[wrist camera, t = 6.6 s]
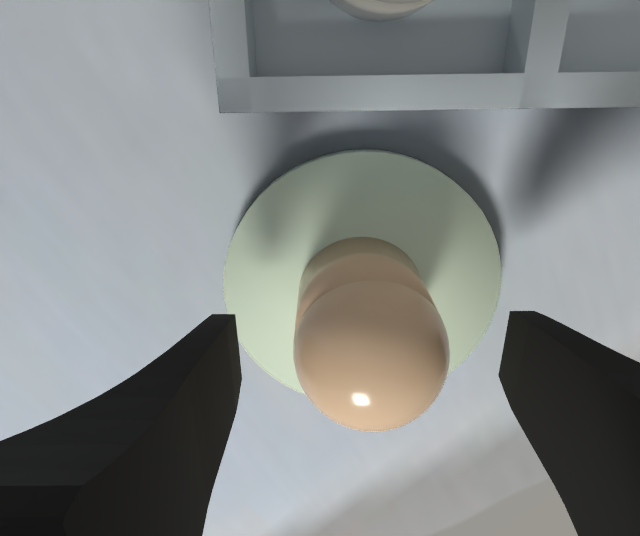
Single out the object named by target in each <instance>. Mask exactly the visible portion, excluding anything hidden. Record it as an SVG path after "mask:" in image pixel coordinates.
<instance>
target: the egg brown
mask: <svg viewBox="0 0 640 536" xmlns="http://www.w3.org/2000/svg"><path fill="white" fill-rule="evenodd" d="M293 359H294V366H295V370H296V374H297V378H298V380H299V382H300V385H301V387H302V389H303V391H304V392H305V394H306V396H307V397H308V399H309V400H310V401H311V402H312V403H313V405H314V406H315V407H316V408H317V409H318V410H319V411H320V412H321V413H322V414H324V415H325V416H327V417H328V418H329V419H331V420H332V421H334V422H336V423H338V424H340V425H342V426H345V427H347V428H351V429H354V430H359V431H365V432H381V431H388V430H392V429H396V428H399V427H401V426H404V425H406V424H408V423H410V422H411V421H413V420H415V419H416V418H418V417H419V416H420V415H422V414H423V413H424V412H425V411H426V410H427V409H428V408H429V407H430V406H431V405H432V403H433V402H434V401H435V399H436V398H437V397H438V395H439V393H440V392H441V390H442V388H443V385H444V383H445V380H446V377H447V374H448V369H449V362H450V347H449V339H448V335H447V331H446V328H445V325H444V323H443V320H442V318H441V316H440V314H439V312H438V310H437V308H436V306H435V304H434V302H433V300H432V298H431V296H430V294H429V292H428V290H427V288H426V286H425V284H424V282H423V280H422V278H421V276H420V274H419V272H418V270H417V268H416V266H415V265H414V263H413V262H412V260H411V259H410V258H409V257H408V255H407V254H406V253H404V252H403V251H402V250H401V249H400V248H398V247H397V246H395V245H393V244H391V243H389V242H387V241H384V240H381V239H377V238H372V237H352V238H346V239H343V240H340V241H337V242H335V243H332V244H330V245H329V246H327V247H325V248H324V249H322V250H321V251H320V252H318V253H317V254H316V255H315V256H314V257H313V258H312V259H311V261H310V262H309V263H308V265H307V266H306V268H305V270H304V272H303V274H302V277H301V280H300V284H299V291H298V301H297V311H296V321H295V331H294V341H293Z"/></svg>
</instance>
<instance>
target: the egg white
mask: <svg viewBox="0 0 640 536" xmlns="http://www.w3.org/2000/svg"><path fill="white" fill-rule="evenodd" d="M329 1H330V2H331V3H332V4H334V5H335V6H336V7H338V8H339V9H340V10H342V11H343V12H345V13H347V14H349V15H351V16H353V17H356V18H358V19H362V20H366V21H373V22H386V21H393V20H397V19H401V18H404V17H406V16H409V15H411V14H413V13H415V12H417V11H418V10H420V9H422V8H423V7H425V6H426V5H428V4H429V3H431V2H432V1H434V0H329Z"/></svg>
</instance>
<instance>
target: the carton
mask: <svg viewBox="0 0 640 536" xmlns="http://www.w3.org/2000/svg"><path fill="white" fill-rule="evenodd" d="M209 10H210V20H211V30H212V40H213V51H214V61H215V71H216V81H217V92H218V102H219V112H220V113H251V112H323V111H395V110H467V109H539V108H611V107H640V0H434V1H432V2H431V3H429V4H428V5H426V6H425V7H423V8H422V9H420V10H418V11H417V12H415V13H413V14H411V15H409V16H406V17H404V18H401V19H397V20H393V21H386V22H373V21H366V20H362V19H358V18H356V17H353V16H351V15H349V14H347V13H345V12H343V11H342V10H340V9H339V8H338V7H336V6H335V5H334V4H332V3H331V2H330V1H329V0H209Z"/></svg>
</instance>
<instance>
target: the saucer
mask: <svg viewBox="0 0 640 536" xmlns="http://www.w3.org/2000/svg"><path fill="white" fill-rule="evenodd" d="M352 237H372V238H377V239H381V240H384V241H387V242H389V243H391V244H393V245H395V246H397V247H398V248H400V249H401V250H402V251H403V252H404V253H406V254H407V255H408V257H409V258H410V259H411V260H412V262H413V263H414V265H415V266H416V268H417V270H418V272H419V274H420V276H421V278H422V280H423V282H424V284H425V286H426V288H427V290H428V292H429V294H430V296H431V298H432V300H433V302H434V304H435V306H436V308H437V310H438V312H439V314H440V316H441V318H442V320H443V323H444V325H445V328H446V331H447V335H448V339H449V347H450V362H449V369H448V374H449V373H451V372H452V371H453V370H454V369H455V368H456V367H458V366H459V365H460V364H461V363H462V362H463V361H464V360H465V359H466V358H467V357H468V356H469V355H470V354H471V353H472V351H473V350H474V349H475V347H476V346H477V345H478V343H479V342H480V341H481V339H482V338H483V336H484V334H485V332H486V331H487V329H488V327H489V325H490V323H491V321H492V318H493V315H494V313H495V310H496V307H497V303H498V299H499V295H500V287H501V259H500V255H499V250H498V245H497V241H496V239H495V236H494V233H493V231H492V228H491V226H490V224H489V222H488V221H487V219H486V217H485V215H484V213H483V212H482V210H481V209H480V208H479V207H478V205H477V204H476V203H475V201H474V200H473V199H472V198H471V197H470V196H469V195H468V194H467V193H466V192H465V191H464V190H463V189H462V188H461V187H460V186H459V185H458V184H457V183H455V182H454V181H453V180H452V179H450V178H449V177H447V176H446V175H445V174H443V173H442V172H440V171H439V170H437V169H436V168H434V167H432V166H430V165H428V164H426V163H424V162H422V161H420V160H418V159H415V158H412V157H409V156H406V155H403V154H400V153H394V152H389V151H384V150H369V149H359V150H346V151H340V152H335V153H331V154H326V155H323V156H320V157H317V158H314V159H311V160H309V161H306V162H304V163H302V164H300V165H298V166H296V167H294V168H293V169H291V170H289V171H287V172H286V173H285V174H283V175H282V176H280V177H279V178H277V179H276V180H275V181H273V182H272V183H271V184H270V185H269V186H268V187H267V188H266V189H265V190H264V191H263V192H262V193H261V194H260V195H259V196H258V197H257V198H256V200H255V201H254V202H253V203H252V205H251V206H250V207H249V209H248V210H247V212H246V214H245V215H244V217H243V219H242V220H241V222H240V224H239V226H238V227H237V229H236V231H235V234H234V236H233V239H232V241H231V243H230V246H229V249H228V253H227V257H226V261H225V267H224V276H223V288H224V300H225V305H226V310H227V314H235V316H236V326H237V336H238V340H239V342H240V343H241V344H242V346H243V347H244V349H245V350H246V352H247V353H248V354H249V355H250V357H251V358H252V359H253V360H254V361H255V362H256V363H257V364H258V365H259V366H260V367H261V368H262V369H263V370H264V371H265V372H267V373H268V374H269V375H270V376H272V377H273V378H275V379H276V380H278V381H279V382H281V383H282V384H284V385H286V386H288V387H289V388H291V389H293V390H295V391H297V392H300V393H303V394H305V392H304V391H303V389H302V387H301V385H300V382H299V380H298V378H297V374H296V370H295V366H294V359H293V341H294V331H295V321H296V311H297V301H298V291H299V284H300V280H301V277H302V274H303V272H304V270H305V268H306V266H307V265H308V263H309V262H310V261H311V259H312V258H313V257H314V256H315V255H316V254H317V253H318V252H320V251H321V250H322V249H324V248H325V247H327V246H329V245H330V244H332V243H335V242H337V241H340V240H343V239H346V238H352ZM448 374H447V375H448ZM305 395H306V394H305Z"/></svg>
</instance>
